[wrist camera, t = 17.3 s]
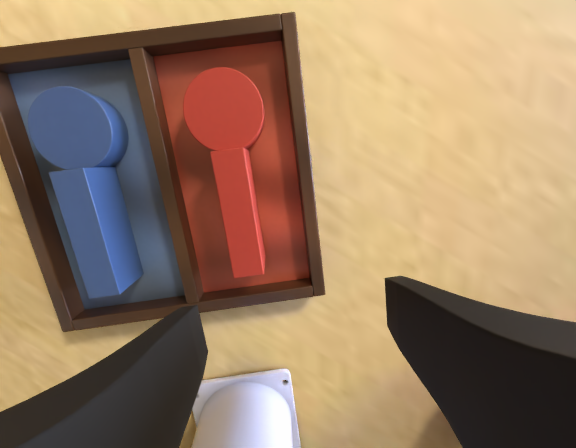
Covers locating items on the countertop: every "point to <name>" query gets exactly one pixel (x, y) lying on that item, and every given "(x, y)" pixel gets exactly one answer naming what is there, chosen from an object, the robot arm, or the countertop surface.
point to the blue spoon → (88, 183)
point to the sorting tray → (170, 167)
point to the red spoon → (231, 156)
